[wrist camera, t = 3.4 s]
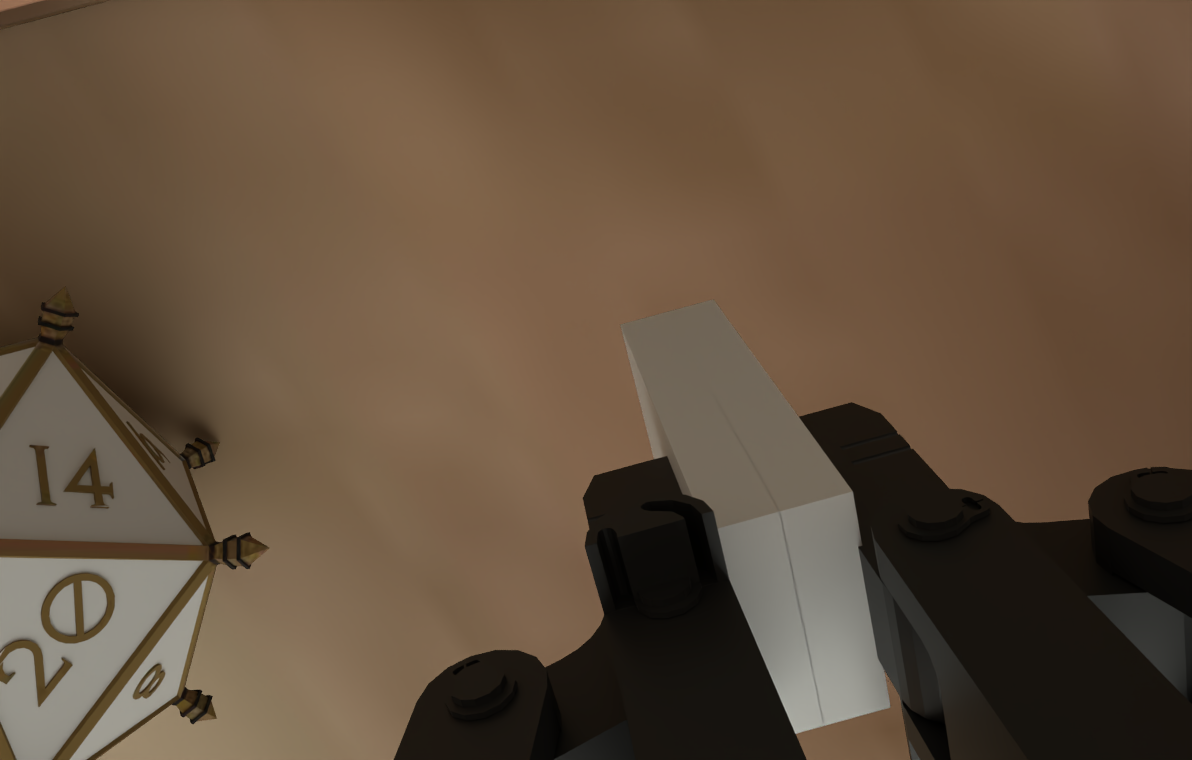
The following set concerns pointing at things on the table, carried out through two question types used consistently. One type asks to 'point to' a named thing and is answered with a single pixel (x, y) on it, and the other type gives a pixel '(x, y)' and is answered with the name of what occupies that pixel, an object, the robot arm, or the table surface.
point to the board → (36, 9)
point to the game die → (94, 557)
